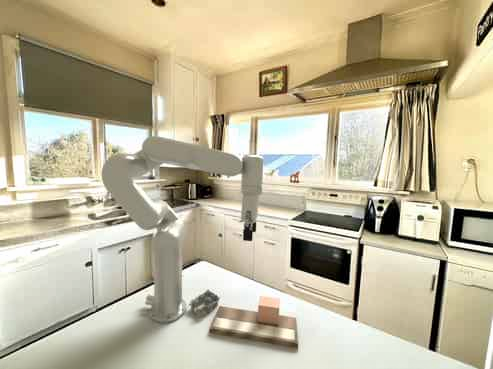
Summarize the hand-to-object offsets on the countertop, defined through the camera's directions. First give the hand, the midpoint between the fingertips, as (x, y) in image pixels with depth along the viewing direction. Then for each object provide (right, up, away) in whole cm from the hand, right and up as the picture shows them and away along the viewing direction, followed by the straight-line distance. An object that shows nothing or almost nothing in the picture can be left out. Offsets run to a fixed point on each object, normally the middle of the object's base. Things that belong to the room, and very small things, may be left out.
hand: (249, 235), depth 78 cm
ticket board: (+1, -29, -7) cm, 30 cm away
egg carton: (-17, -28, +3) cm, 33 cm away
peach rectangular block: (+6, -27, -5) cm, 29 cm away
